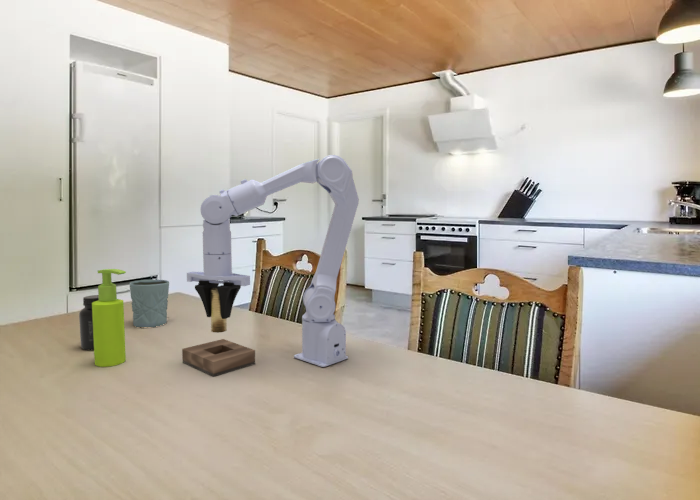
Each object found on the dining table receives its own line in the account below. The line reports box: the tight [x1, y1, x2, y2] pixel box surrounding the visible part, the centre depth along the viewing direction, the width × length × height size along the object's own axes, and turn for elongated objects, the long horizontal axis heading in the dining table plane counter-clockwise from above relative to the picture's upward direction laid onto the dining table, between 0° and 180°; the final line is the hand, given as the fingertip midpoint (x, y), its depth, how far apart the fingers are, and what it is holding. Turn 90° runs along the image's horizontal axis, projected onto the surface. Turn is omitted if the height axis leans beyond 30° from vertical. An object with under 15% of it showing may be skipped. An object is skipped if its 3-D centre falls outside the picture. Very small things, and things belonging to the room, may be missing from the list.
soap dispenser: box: [92, 268, 127, 368], centre depth 97 cm, size 6×7×20 cm
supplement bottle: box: [78, 294, 99, 351], centre depth 108 cm, size 7×7×12 cm
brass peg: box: [210, 288, 228, 334], centre depth 97 cm, size 3×3×9 cm
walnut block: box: [181, 338, 256, 377], centre depth 97 cm, size 12×10×3 cm
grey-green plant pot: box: [129, 279, 170, 328], centre depth 128 cm, size 10×10×12 cm
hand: (218, 317), depth 97 cm, fingers closed on brass peg, 3 cm apart
